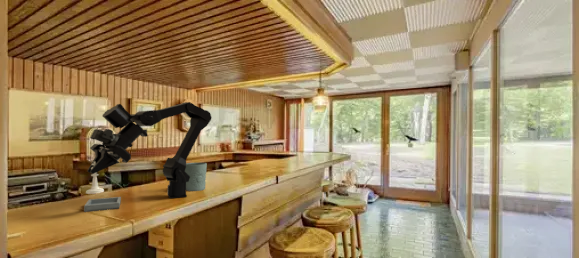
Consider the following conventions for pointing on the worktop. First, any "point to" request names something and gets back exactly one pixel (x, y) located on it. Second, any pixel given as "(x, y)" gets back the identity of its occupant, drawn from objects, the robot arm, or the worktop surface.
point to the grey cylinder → (196, 176)
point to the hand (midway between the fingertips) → (90, 172)
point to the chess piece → (94, 184)
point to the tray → (102, 204)
